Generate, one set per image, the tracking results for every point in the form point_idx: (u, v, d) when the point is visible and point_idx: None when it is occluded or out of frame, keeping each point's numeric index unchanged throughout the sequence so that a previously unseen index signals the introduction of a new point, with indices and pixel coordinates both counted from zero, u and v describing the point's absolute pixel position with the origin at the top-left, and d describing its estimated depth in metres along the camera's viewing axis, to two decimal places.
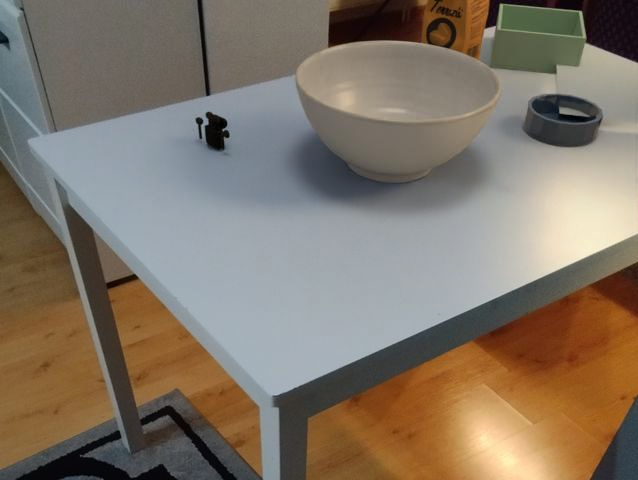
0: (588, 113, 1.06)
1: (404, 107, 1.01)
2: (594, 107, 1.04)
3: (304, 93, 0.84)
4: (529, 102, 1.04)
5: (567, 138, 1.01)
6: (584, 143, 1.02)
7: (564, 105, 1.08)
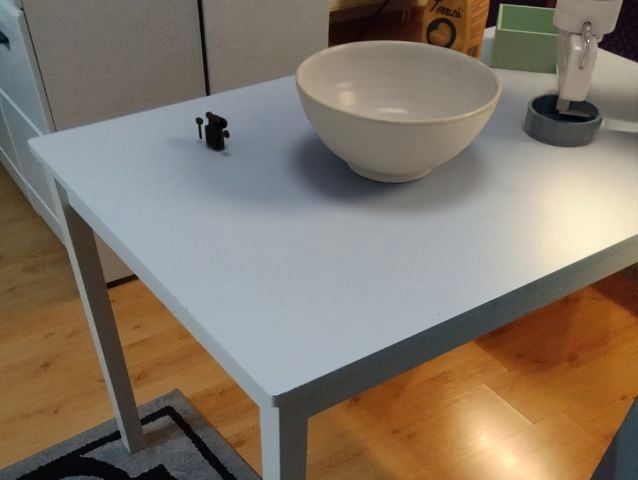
0: (588, 113, 1.06)
1: (404, 107, 1.01)
2: (594, 107, 1.04)
3: (305, 93, 0.84)
4: (529, 102, 1.04)
5: (567, 138, 1.01)
6: (584, 143, 1.02)
7: None
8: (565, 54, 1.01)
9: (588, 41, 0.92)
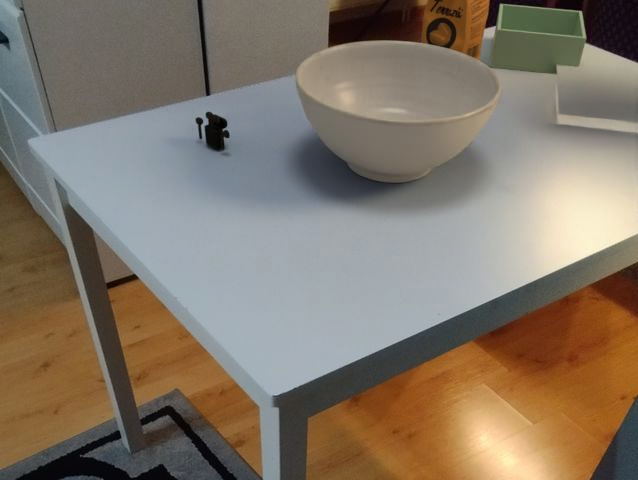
0: None
1: (404, 106, 1.01)
2: None
3: (304, 93, 0.84)
4: None
5: None
6: None
7: None
8: None
9: None
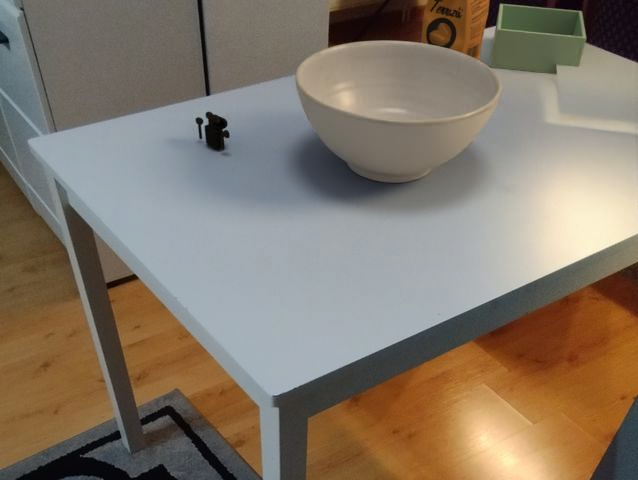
0: None
1: (404, 106, 1.01)
2: None
3: (304, 93, 0.84)
4: None
5: None
6: None
7: None
8: None
9: None
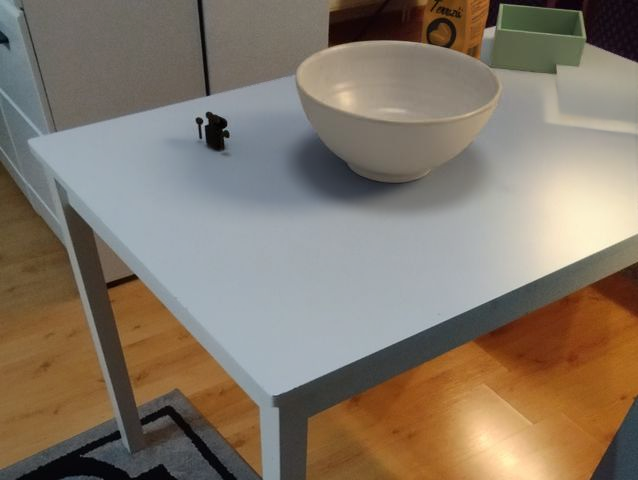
0: None
1: (404, 106, 1.01)
2: None
3: (304, 93, 0.84)
4: None
5: None
6: None
7: None
8: None
9: None
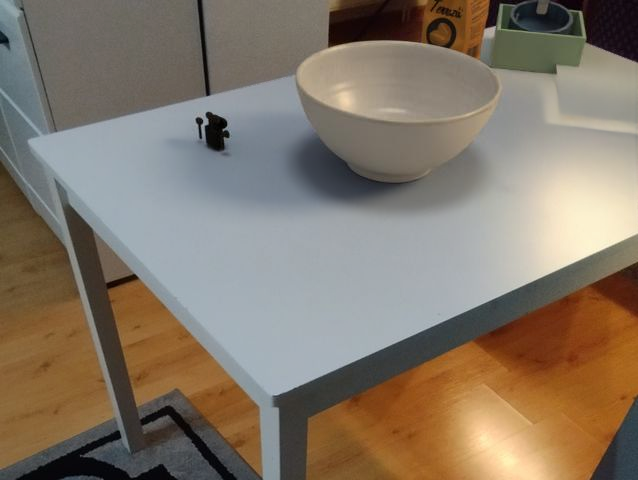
0: (562, 17, 1.26)
1: (404, 106, 1.01)
2: (566, 13, 1.24)
3: (304, 93, 0.84)
4: (512, 11, 1.24)
5: None
6: None
7: None
8: None
9: None
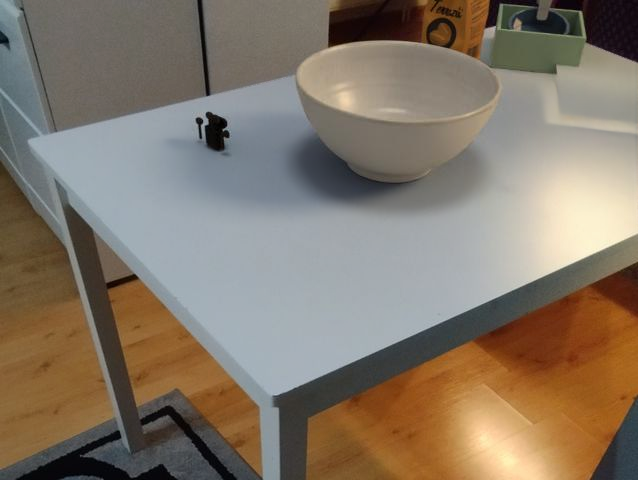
0: (559, 25, 1.27)
1: (404, 106, 1.01)
2: (564, 21, 1.26)
3: (304, 93, 0.84)
4: (509, 20, 1.26)
5: None
6: None
7: None
8: None
9: None
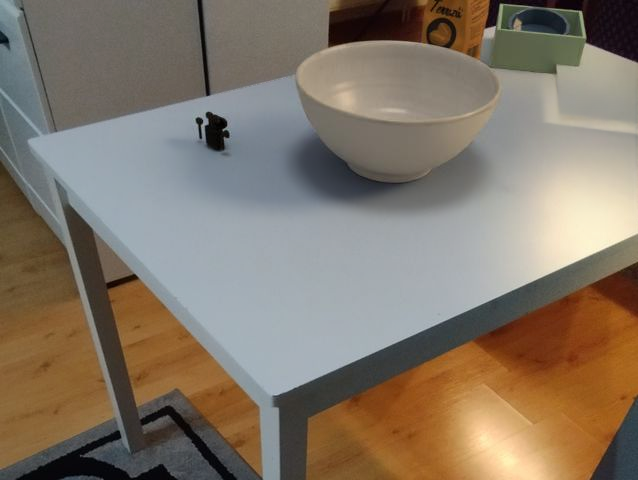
0: (559, 25, 1.27)
1: (404, 107, 1.01)
2: (564, 21, 1.26)
3: (305, 93, 0.84)
4: (509, 20, 1.26)
5: None
6: None
7: (540, 17, 1.29)
8: None
9: None
